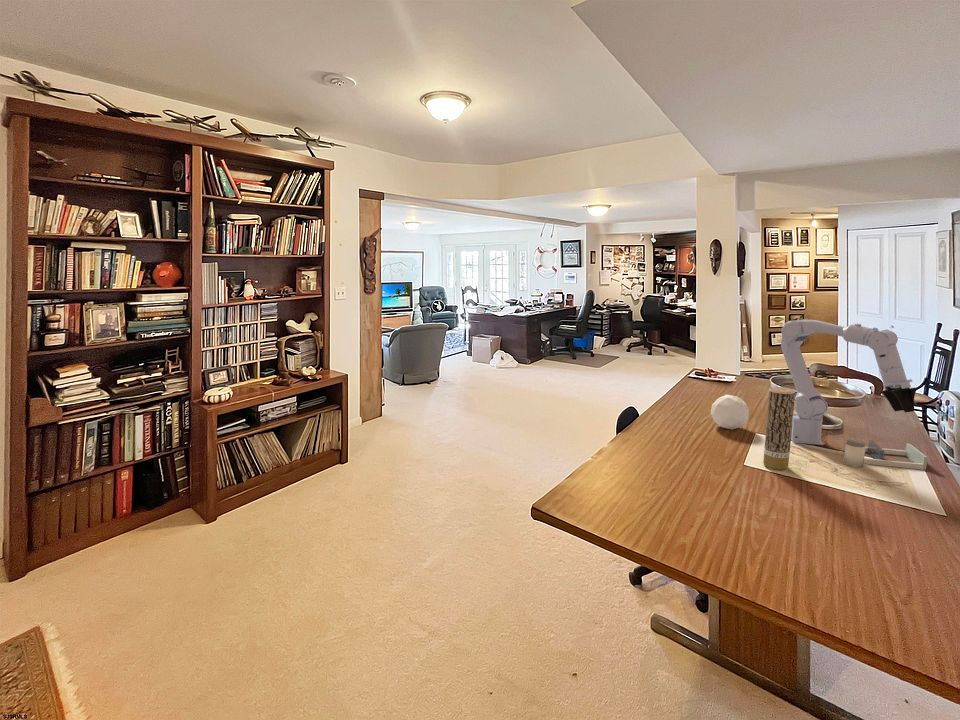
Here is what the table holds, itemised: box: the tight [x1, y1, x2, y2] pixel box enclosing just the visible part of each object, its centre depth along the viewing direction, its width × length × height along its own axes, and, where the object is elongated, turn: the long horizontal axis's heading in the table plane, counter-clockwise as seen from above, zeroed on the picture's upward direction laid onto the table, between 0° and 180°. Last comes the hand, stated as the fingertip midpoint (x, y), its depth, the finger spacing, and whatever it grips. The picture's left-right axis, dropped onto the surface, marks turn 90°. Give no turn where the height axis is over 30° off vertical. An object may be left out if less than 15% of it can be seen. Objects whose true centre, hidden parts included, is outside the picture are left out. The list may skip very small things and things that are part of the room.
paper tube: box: [762, 386, 796, 471], centre depth 151 cm, size 7×7×25 cm
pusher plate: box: [867, 440, 885, 460], centre depth 158 cm, size 1×10×4 cm, turn 158°
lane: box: [865, 443, 929, 470], centre depth 156 cm, size 15×13×4 cm
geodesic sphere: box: [710, 393, 750, 431], centre depth 191 cm, size 14×14×14 cm
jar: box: [842, 439, 867, 468], centre depth 153 cm, size 5×5×7 cm
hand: (904, 411), depth 149 cm, fingers open, 7 cm apart
